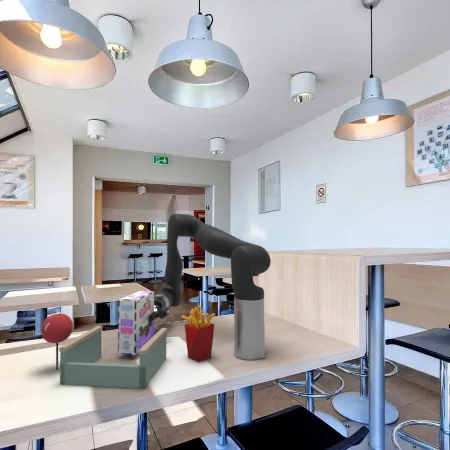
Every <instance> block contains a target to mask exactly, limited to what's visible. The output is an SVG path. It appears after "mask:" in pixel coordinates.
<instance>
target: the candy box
mask: <svg viewBox="0 0 450 450" xmlns="http://www.w3.org/2000/svg"><path fill="white" fill-rule="evenodd" d="M154 296H155V291H150V290H148V291H147V290H145V291H144V290H139V291H137V292H135V293H131V294H129V295H127V296H124V297H122V298H118V301H117V302H118V303H117V305H118V306H117V307H118V309H117V310H118V313H117V314H118V315H117V317H118V318H117V320H118V322H117V330H118V331H117V354H119V355H126V356H127V355H129V356H137V355H138V350H139V349H141V348H142V347H143V346H144V345H145V344H146V343H147V342H148V341H149V340H150V339H151V338H152V337H153V336H154V335H155V320H153V321H152V322H149V315H150V314H151V313H152V312H154Z"/></svg>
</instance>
